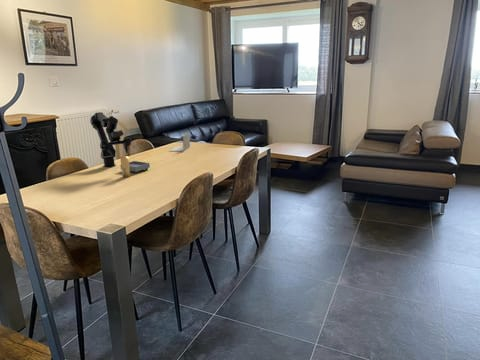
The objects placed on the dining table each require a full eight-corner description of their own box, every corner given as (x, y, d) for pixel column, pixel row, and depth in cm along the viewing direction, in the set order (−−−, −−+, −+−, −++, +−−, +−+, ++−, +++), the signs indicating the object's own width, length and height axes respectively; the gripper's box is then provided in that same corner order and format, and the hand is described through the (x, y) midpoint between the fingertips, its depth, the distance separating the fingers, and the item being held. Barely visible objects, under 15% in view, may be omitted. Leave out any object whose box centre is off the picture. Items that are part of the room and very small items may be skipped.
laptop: (176, 147, 312) (175, 132, 308) (190, 147, 310) (189, 132, 307) (169, 151, 295) (168, 135, 291) (184, 151, 293) (183, 135, 290)
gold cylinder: (120, 177, 223) (118, 157, 220) (126, 175, 227) (123, 155, 224) (127, 178, 221) (124, 158, 218) (132, 176, 225) (130, 156, 222)
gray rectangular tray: (121, 171, 237) (120, 164, 235) (134, 167, 247) (134, 160, 245) (136, 173, 230) (135, 167, 229) (150, 169, 240) (149, 163, 238)
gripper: (98, 127, 220) (106, 148, 215) (128, 124, 231) (136, 144, 225) (96, 138, 229) (104, 158, 223) (125, 135, 239) (133, 154, 234)
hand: (120, 153), depth 226 cm, fingers open, 9 cm apart
